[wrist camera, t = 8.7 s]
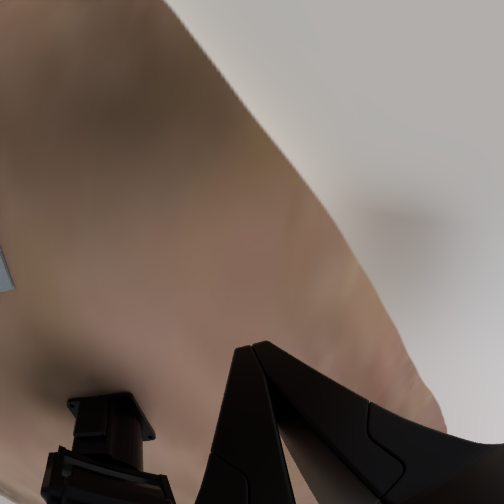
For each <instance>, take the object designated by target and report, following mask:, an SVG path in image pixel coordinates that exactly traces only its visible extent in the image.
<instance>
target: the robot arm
mask: <svg viewBox="0 0 504 504" xmlns="http://www.w3.org/2000/svg"><path fill="white" fill-rule="evenodd" d="M127 398H129V399H127ZM67 407H68V408H69V410H70V411H71V412H72V414H73V415H74V416H75V418H76V421H75V426H74V431H73V436H74V440H73V446H72V451H70V450H67V449H66V448H65V447H62V446H60V445H59V449H58V452H53V453H49V456H48V460H47V465H46V470H45V474H44V478H43V483H42V487H41V496H42V497H43V499H44V500H45V502H46V503H47V504H176V502H175V499H174V496H173V493H172V490H171V487H170V484H169V481H168V478H167V475H162V474H160V475H156V474H151V473H147V472H143V441H150V440H154V439H155V438H156V435H155V432H154V431H153V429H152V428H151V426H150V424H149V423H148V421H147V419H146V418H145V416H144V414H143V413H142V411H141V409H140V407H139V406H138V404H137V402H136V400H135V398H134V397H133V395H132V394H130V393H120V394H112V395H104V396H95V397H86V398H75V399H68V400H67ZM279 434H280V435H279ZM280 436H281V437H282V439H283V441H284V443H285V445H286V447H287V449H288V450H289V452H290V454H291V456H292V458H293V459H294V461H295V463H296V465H297V467H298V468H299V470H300V472H301V474H302V476H303V477H304V479H305V481H306V483H307V484H308V486H309V488H310V490H311V491H312V493H313V495H314V496H315V498H316V500H317V502H318V503H319V504H504V443H503V444H482V443H476V442H472V441H468V440H465V439H462V438H458V437H455V436H452V435H449V434H446V433H443V432H440V431H437V430H434V429H431V428H428V427H425V426H423V425H420V424H418V423H415V422H413V421H410V420H408V419H405V418H403V417H401V416H399V415H396V414H394V413H392V412H390V411H388V410H386V409H384V408H382V407H380V406H379V405H377V404H375V403H373V402H370V403H369V400H367V399H365V398H364V397H362V396H360V395H358V394H356V393H355V392H353V391H351V390H349V389H348V388H346V387H344V386H342V385H341V384H339V383H337V382H335V381H334V380H332V379H330V378H328V377H327V376H325V375H323V374H322V373H320V372H318V371H317V370H315V369H313V368H311V367H310V366H308V365H306V364H305V363H303V362H302V361H300V360H298V359H297V358H295V357H293V356H292V355H290V354H288V353H287V352H285V351H284V350H282V349H280V348H279V347H277V346H276V345H274V344H272V343H271V342H269V341H262V342H258V343H254V344H253V345H252V346H250V345H247V346H243V347H239V348H236V349H235V350H234V354H233V358H232V363H231V367H230V371H229V375H228V380H227V384H226V388H225V392H224V397H223V401H222V405H221V409H220V413H219V418H218V422H217V426H216V430H215V434H214V439H213V443H212V447H211V453H210V455H209V459H208V463H207V467H206V470H205V474H204V477H203V481H202V484H201V488H200V490H199V493H198V496H197V498H196V501H195V504H296V502H295V498H294V494H293V490H292V485H291V481H290V477H289V473H288V469H287V464H286V460H285V456H284V452H283V448H282V443H281V439H280Z"/></svg>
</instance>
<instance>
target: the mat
mask: <svg viewBox="0 0 504 504" xmlns="http://www.w3.org/2000/svg"><path fill="white" fill-rule="evenodd" d="M14 288H15V286H14V284H13V281H12V279H11V276H10V273H9V271H8V268H7V265H6V262H5V260H4V257H3V254H2V251H1V248H0V293H1V292H5V291H9V290H13V289H14Z"/></svg>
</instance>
